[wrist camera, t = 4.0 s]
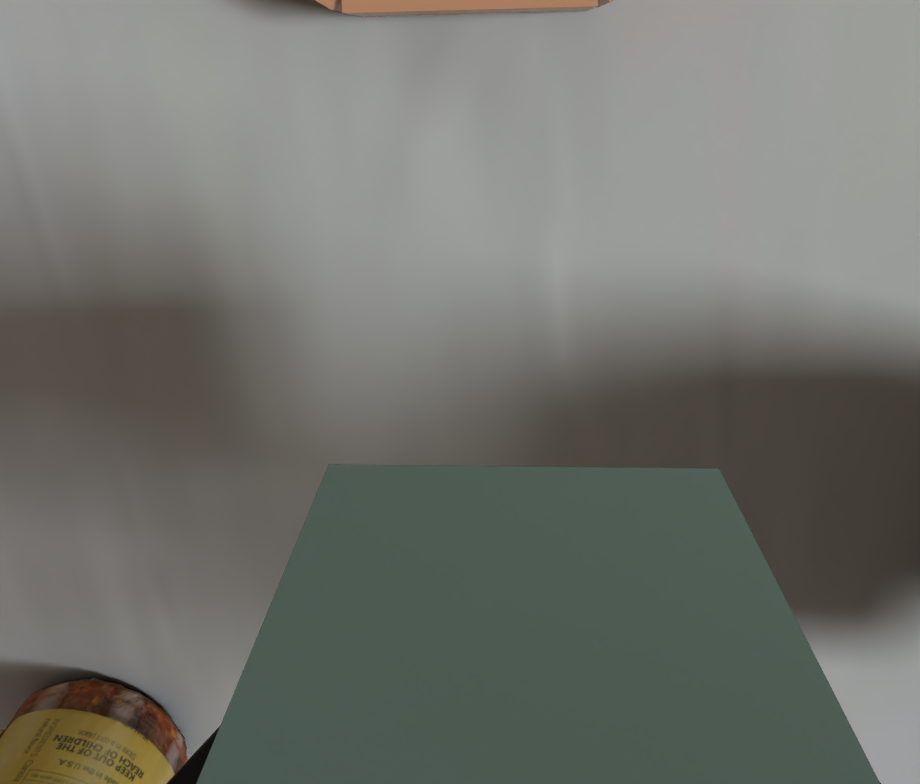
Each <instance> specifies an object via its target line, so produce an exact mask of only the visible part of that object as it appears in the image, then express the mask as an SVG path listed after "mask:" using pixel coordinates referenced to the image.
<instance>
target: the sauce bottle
mask: <svg viewBox="0 0 920 784" xmlns="http://www.w3.org/2000/svg"><path fill="white" fill-rule="evenodd" d="M184 739H185V737H184V736H183V735H182V734H181V733H180V732H179V731H178V729H177V726H176V725H175V723H174V722H173V721H172V719H171V718H170V716H169V715H168V713H167V712H165V711H164V710H163V709H161V708H160V707H158V706H157V705H156V704H155V703H154V702H153V701H152V700H150V699H149V698H147V697H144V696H143V695H142V694H141V693H139V692H136V691H133V690H130V689H127V688H125V687H124V686H122V685H120V684H116V683H112V682H106V681H103V680H98V679H96V678H91V679H86V680H76V681H69V682H64V683H61V684H57V685H53V686H51V687H49V688H44V689H42V690H41V691H38V692H36V693H34V694H32V695H31V696H30V697H29V698H28V699H27V700H26V701H25V702H24V704H23V705H22V706H21V707H20V708H19V710H18V711H17V713H16V715H15V717H14V718H13V719H12V720H11V722H10V723H9V725H8V726H7V728H6V729H5V730H3V731H1V732H0V784H166V783H167V782H168V781H169V780H170V779H171V778H172V777H173V776H174V775H175V774H176V773H177V771H178V770H179V769H180V768H181V767H182V766H183V765H184V764H185V763H186V762H187V756H186V749H187V747H186V744H185V740H184Z"/></svg>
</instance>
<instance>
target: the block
mask: <svg viewBox="0 0 920 784" xmlns="http://www.w3.org/2000/svg"><path fill="white" fill-rule="evenodd" d="M196 784H880V782H879V780H878V778H877V776H876V775H875V773H874V771H873V769H872V767H871V765H870V763H869V761H868V759H867V757H866V755H865V753H864V751H863V749H862V747H861V745H860V743H859V741H858V739H857V737H856V735H855V733H854V732H853V730H852V728H851V726H850V724H849V722H848V720H847V718H846V716H845V714H844V712H843V710H842V708H841V706H840V704H839V702H838V700H837V698H836V696H835V694H834V692H833V690H832V688H831V687H830V685H829V683H828V681H827V679H826V677H825V675H824V673H823V671H822V669H821V667H820V665H819V663H818V661H817V659H816V657H815V655H814V653H813V651H812V649H811V647H810V645H809V643H808V642H807V640H806V638H805V636H804V634H803V632H802V630H801V628H800V626H799V624H798V622H797V620H796V618H795V616H794V614H793V612H792V610H791V608H790V606H789V604H788V602H787V600H786V598H785V597H784V595H783V593H782V591H781V589H780V587H779V585H778V583H777V581H776V579H775V577H774V575H773V573H772V571H771V569H770V567H769V565H768V563H767V561H766V559H765V557H764V555H763V553H762V552H761V550H760V548H759V546H758V544H757V542H756V540H755V538H754V536H753V534H752V532H751V530H750V528H749V526H748V524H747V522H746V520H745V518H744V516H743V514H742V512H741V510H740V508H739V507H738V505H737V503H736V501H735V499H734V497H733V495H732V493H731V491H730V489H729V487H728V485H727V483H726V481H725V479H724V477H723V475H722V473H721V471H720V469H719V468H630V467H535V466H440V465H345V464H329V465H328V468H327V470H326V472H325V475H324V477H323V480H322V482H321V484H320V487H319V489H318V492H317V494H316V496H315V499H314V501H313V504H312V506H311V508H310V511H309V513H308V516H307V518H306V521H305V523H304V525H303V528H302V530H301V533H300V535H299V537H298V540H297V542H296V545H295V547H294V549H293V552H292V554H291V557H290V559H289V562H288V564H287V566H286V569H285V571H284V574H283V576H282V578H281V581H280V583H279V586H278V588H277V590H276V593H275V595H274V598H273V600H272V602H271V605H270V607H269V610H268V612H267V615H266V617H265V619H264V622H263V624H262V627H261V629H260V631H259V634H258V636H257V639H256V641H255V643H254V646H253V648H252V651H251V653H250V656H249V658H248V660H247V663H246V665H245V668H244V670H243V672H242V675H241V677H240V680H239V682H238V684H237V687H236V689H235V692H234V694H233V696H232V699H231V701H230V704H229V706H228V709H227V711H226V713H225V716H224V718H223V721H222V723H221V725H220V728H219V730H218V733H217V735H216V737H215V740H214V742H213V745H212V747H211V749H210V752H209V754H208V757H207V759H206V762H205V764H204V766H203V769H202V771H201V774H200V776H199V778H198V781H197V783H196Z"/></svg>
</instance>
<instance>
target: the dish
mask: <svg viewBox="0 0 920 784" xmlns="http://www.w3.org/2000/svg"><path fill="white" fill-rule="evenodd" d="M315 1H317V2H319V3H320V4H322V5H324V6H325V7H327V8H329V9H330V10H334V11H339V12H342V13H345V14H350V15H355V16H360V17H383V16H421V15H459V14H497V13H535V12H574V11H588V10H590V9H593V8H595V7H600V6H602V5H605V4H607V3H609V2H611V1H613V0H315Z"/></svg>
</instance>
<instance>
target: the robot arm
mask: <svg viewBox="0 0 920 784" xmlns="http://www.w3.org/2000/svg"><path fill="white" fill-rule="evenodd" d="M219 728H220V727H219ZM219 728H218V729H217V730H216V731H215V732H214V733H213V734H212V735H211V736H210V737H209V738H208V739H207V740H206V742H205V743H204V744H203V745H202V746H201V747H200V748H199V749H198V750H197V751H196V752H195V753H194V754H193V755H192V756H191V758H190V759H189V760H188V761H187V762H186V763H185V764H184V765H183V766H182V767H181V768H180V769H179V770H178V771H177V773H176V774H175V775H174V776H173V777H172V778H171V779H170V780H169V781H168V782H167V783H166V784H196V783H197V781H198V778H199V776H200V774H201V771H202V769H203V766H204V764H205V762H206V759H207V757H208V754H209V752H210V749H211V747H212V745H213V742H214V740H215V737H216V735H217V733H218V730H219ZM880 784H881V783H880Z"/></svg>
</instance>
